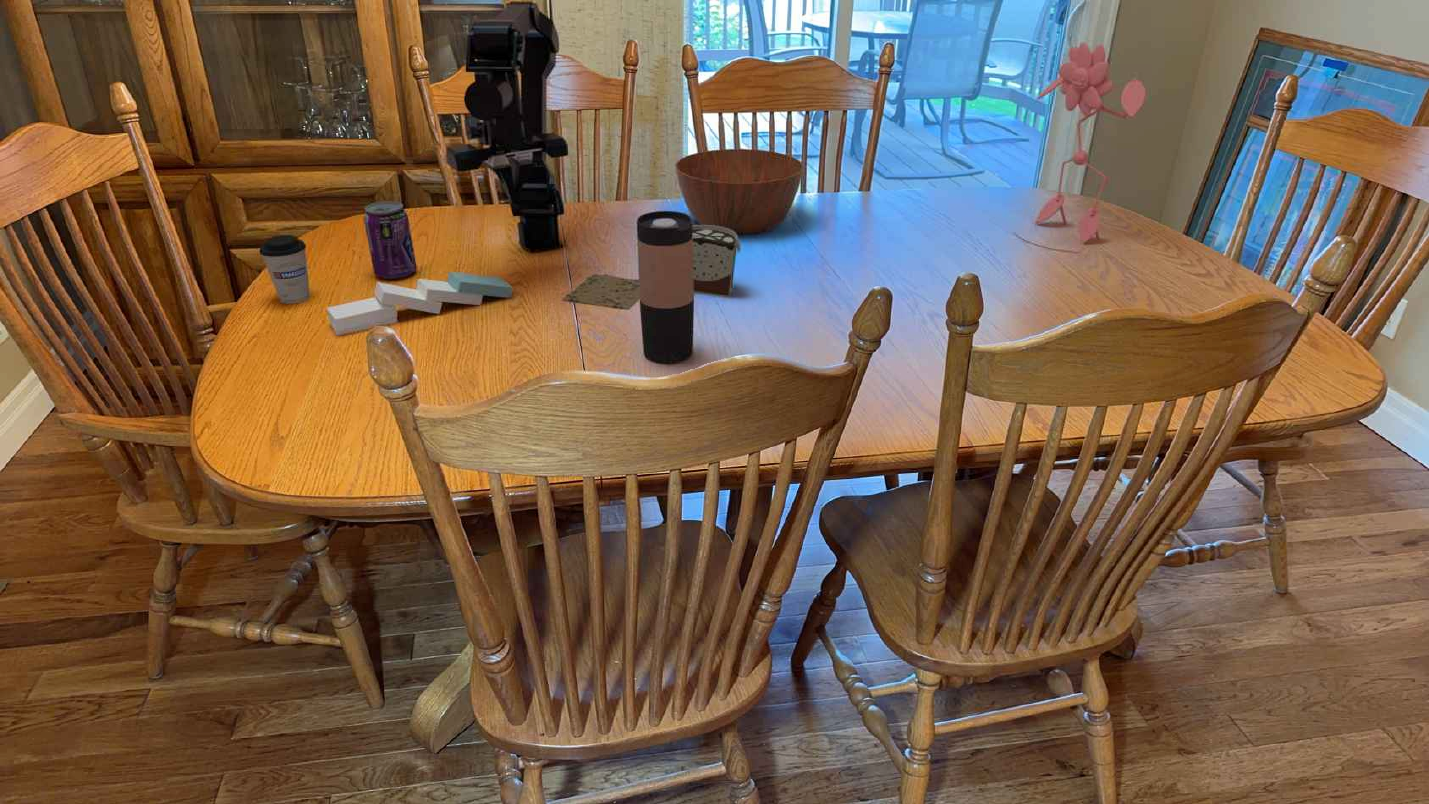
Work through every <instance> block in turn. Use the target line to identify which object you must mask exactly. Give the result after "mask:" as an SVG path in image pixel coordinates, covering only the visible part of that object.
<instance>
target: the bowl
mask: <svg viewBox="0 0 1429 804" xmlns="http://www.w3.org/2000/svg"><path fill="white" fill-rule="evenodd" d="M804 169H805V166H804V164H803V162H802V161H801V160H799V159H798V158H796V157H794V156H791V155H788V154H785V153H781V152H776V151H773V150H772V151H771V150H770V151H769V150H762V149H752V148H750V149H749V148H726V149H724V148H723V149H712V150H706V151H700V152H695V153H692V154H688V155H687V156H683V157H682V158H680V159H679V160H677V161H676V162H675V172H676V176H677V181H678V185H679V188H680V189H679V190H680V192H681V196H682V198H683V200H684V204H685V206H686V208H687V210H688V212H689V213H690V215H691V216H692V219H694V220H695V221H696V222H697V224H698V225H714V226H720V227H725V228H728V229H730V230H732V231H734V232H735V233H736V234H737V235H747V234H757V233H761V232H766V231H768V230H771V229H773V228H776V226H778V225H779V224H781V222H783V220H785V218H786V217H787V215H788V213H789V211H790V209H791V207H792V205H793V203H794V201H795V198H796V196H797V193H798V190H799V188H800V184H801V181H802V176H803V173H804Z"/></svg>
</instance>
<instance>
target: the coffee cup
mask: <svg viewBox="0 0 1429 804" xmlns="http://www.w3.org/2000/svg"><path fill="white" fill-rule="evenodd" d="M263 242H264V243H263V244H262V245H261V246H260V247H259V251H258V252H259V254H260V255H261V256H262V259H263V262H264V264H265V266H266V269H267V272H268V274H269V276H270V279H271V282H272V284H273V286H274V289H275V291H276V294H277V296H278V299H279V301H280V303H282V304H286V305H288V304H289V305H292V304H298V303H303V302H306V301H307V300H309V299H310V297H311V295H310V294H311V293H310V283H309V274H308V264H307V255H306V254H307V253H306V248H307V245H306V243H305V242H304V241H303V240H301V239H299V238H297V236H295V235H293V234H281V235H275V236H271V237H269V238H266V239H265V240H264V241H263Z"/></svg>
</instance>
